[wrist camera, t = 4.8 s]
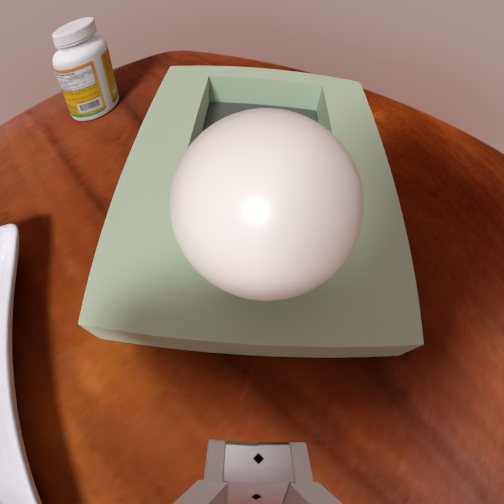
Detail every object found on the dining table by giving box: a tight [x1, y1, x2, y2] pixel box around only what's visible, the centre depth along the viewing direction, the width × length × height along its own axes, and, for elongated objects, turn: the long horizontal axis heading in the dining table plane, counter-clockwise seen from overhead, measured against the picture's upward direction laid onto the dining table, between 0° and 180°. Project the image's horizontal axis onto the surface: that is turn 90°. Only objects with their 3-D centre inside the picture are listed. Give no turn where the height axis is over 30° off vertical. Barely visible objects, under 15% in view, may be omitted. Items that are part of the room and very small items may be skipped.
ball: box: [170, 108, 364, 301], centre depth 13 cm, size 8×8×8 cm
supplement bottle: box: [52, 17, 119, 121], centre depth 23 cm, size 5×5×10 cm
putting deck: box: [78, 66, 424, 358], centre depth 21 cm, size 18×24×3 cm
